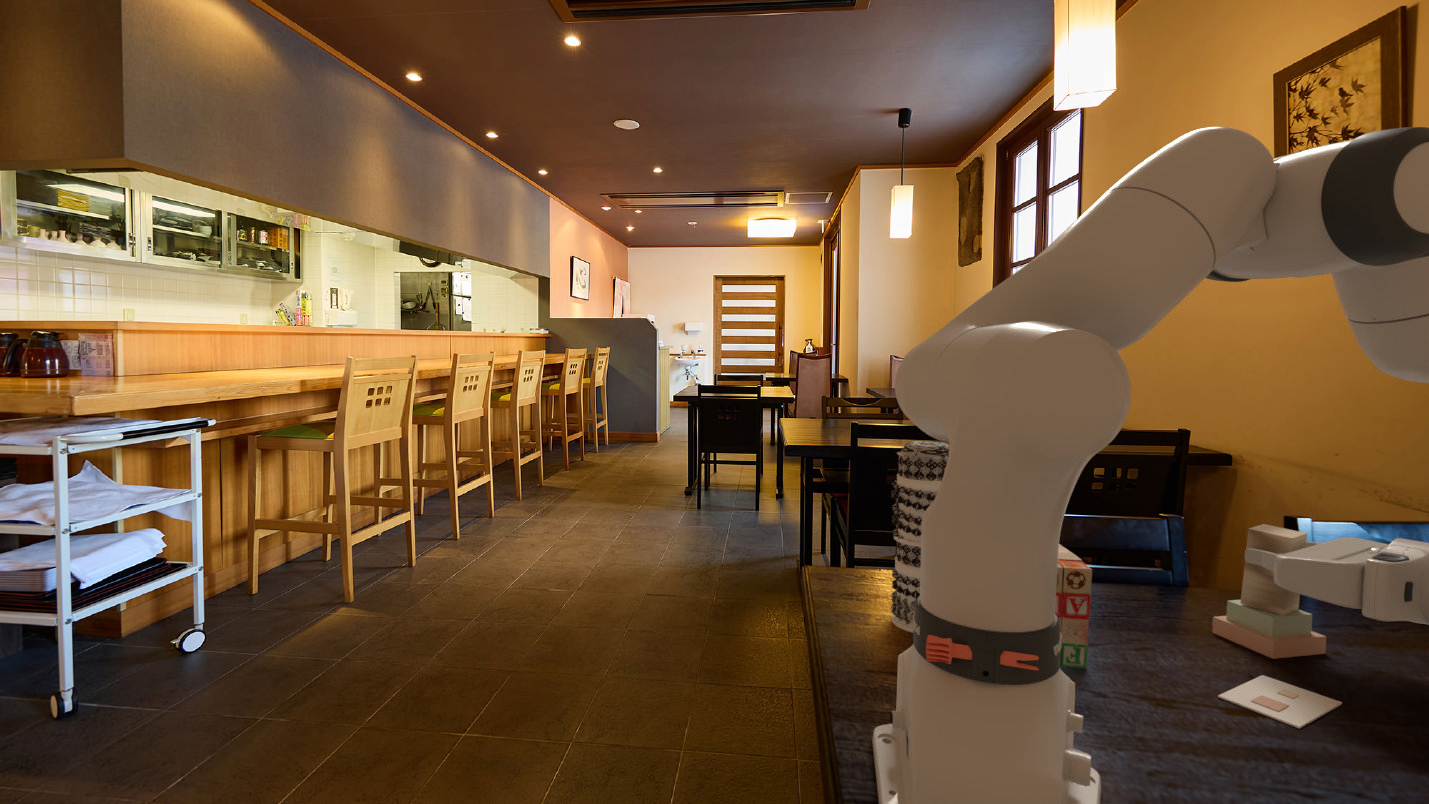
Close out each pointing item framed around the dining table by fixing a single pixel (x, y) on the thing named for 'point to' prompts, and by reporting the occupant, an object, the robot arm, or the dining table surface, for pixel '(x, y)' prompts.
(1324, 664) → the dining table surface
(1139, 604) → the dining table surface
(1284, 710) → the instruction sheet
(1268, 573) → the maple column
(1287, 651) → the tower base
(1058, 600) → the stack of blocks
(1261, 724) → the dining table surface
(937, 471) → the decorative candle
